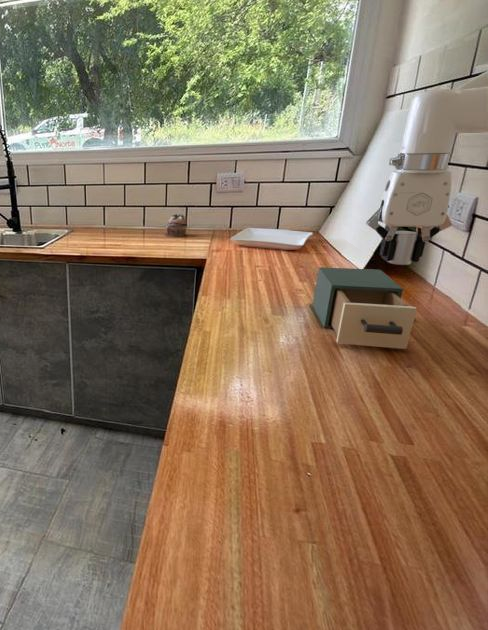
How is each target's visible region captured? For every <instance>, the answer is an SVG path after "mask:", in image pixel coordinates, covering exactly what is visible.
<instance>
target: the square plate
mask: <svg viewBox="0 0 488 630" xmlns="http://www.w3.org/2000/svg"><path fill="white" fill-rule="evenodd" d="M313 235H314V232H312V231H311V232H310V231H300V230H291V229H278V228H260V227H259V228H257V227H256V228H255V227H246V228H244V229H243V230H241V231H239V232H238V233H236V234H235V235H233V236H231V237H230V241H231V242H232V243H233V244H235V245H240V246H243V247H247V248H257V249H268V250H280V251H297V250H299V249H301V248H302V247H303V246H304V245H305V244H306V242H307V241H308V239H310V238H311V237H312V236H313Z"/></svg>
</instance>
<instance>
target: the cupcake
mask: <svg viewBox="0 0 488 630" xmlns="http://www.w3.org/2000/svg"><path fill="white" fill-rule="evenodd" d="M185 217H186V216H185V215H184V214H179V215H178V214H177V213H175V214H172V215H171V217H170V219H168V221H167V223H166V224H165V226H166V228H165V229H166V235H167V237H171V238H182V237H185V236H186V232H187V228H188V220H187V219H186V218H185Z"/></svg>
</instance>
